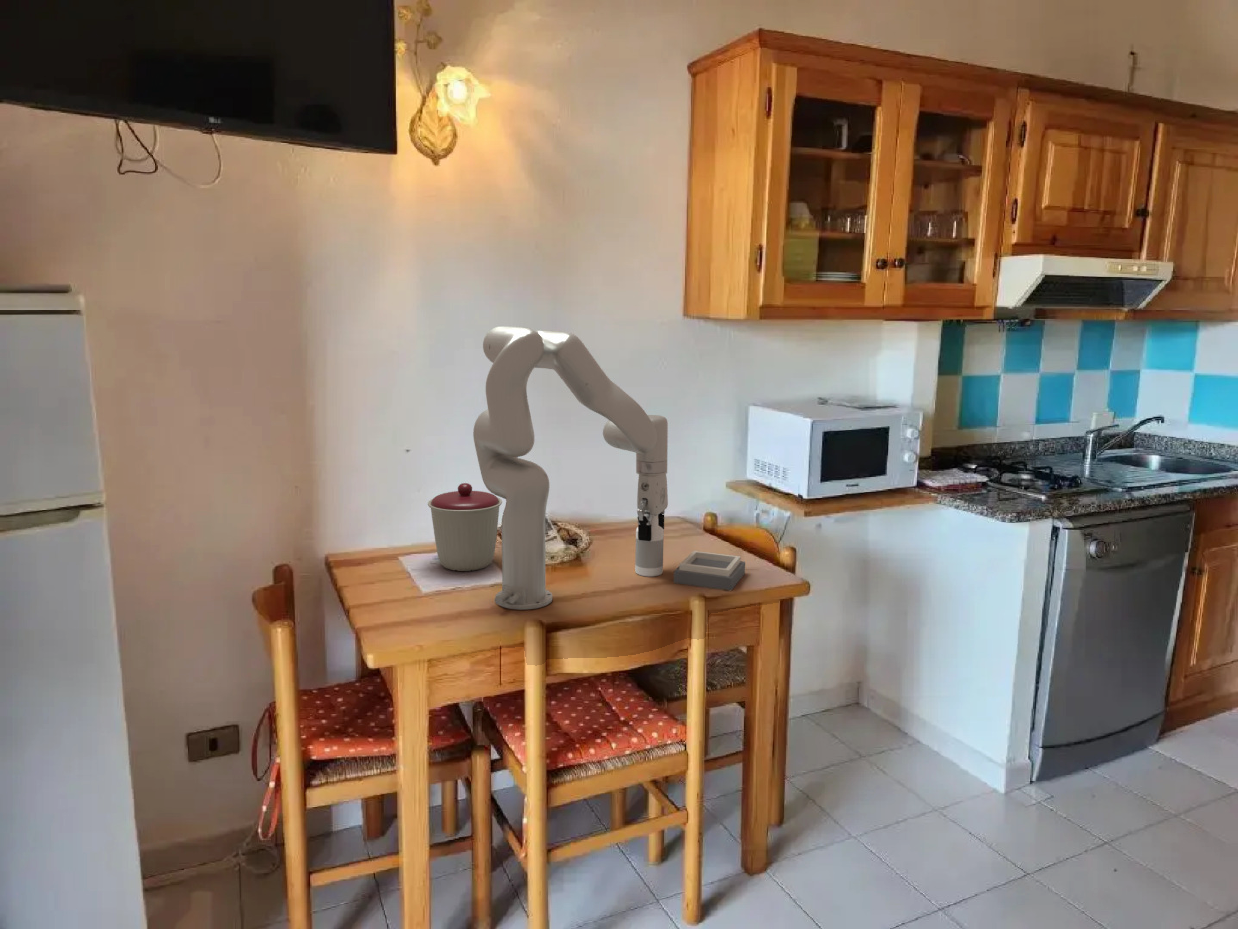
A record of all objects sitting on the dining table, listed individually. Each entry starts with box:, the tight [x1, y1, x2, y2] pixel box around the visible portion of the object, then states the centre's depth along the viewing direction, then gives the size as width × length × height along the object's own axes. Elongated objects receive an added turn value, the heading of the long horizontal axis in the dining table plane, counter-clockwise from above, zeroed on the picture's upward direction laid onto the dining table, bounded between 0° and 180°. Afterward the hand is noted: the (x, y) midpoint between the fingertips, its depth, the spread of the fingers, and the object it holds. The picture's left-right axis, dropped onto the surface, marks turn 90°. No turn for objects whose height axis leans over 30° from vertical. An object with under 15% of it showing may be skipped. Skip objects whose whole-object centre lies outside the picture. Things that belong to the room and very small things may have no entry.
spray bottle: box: [634, 504, 665, 578], centre depth 208 cm, size 7×7×18 cm
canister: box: [427, 482, 503, 572], centre depth 211 cm, size 18×18×21 cm
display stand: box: [673, 550, 746, 591], centre depth 206 cm, size 14×14×4 cm
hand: (651, 535), depth 208 cm, fingers open, 9 cm apart
